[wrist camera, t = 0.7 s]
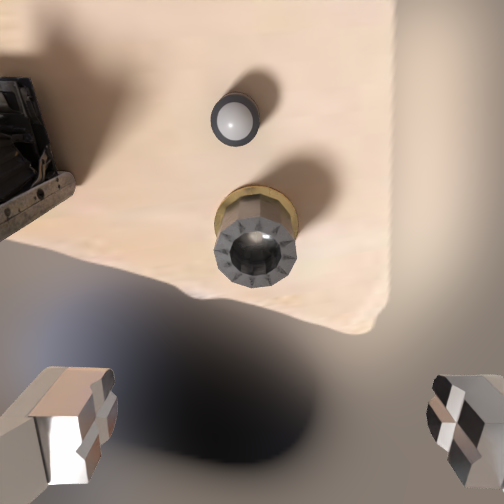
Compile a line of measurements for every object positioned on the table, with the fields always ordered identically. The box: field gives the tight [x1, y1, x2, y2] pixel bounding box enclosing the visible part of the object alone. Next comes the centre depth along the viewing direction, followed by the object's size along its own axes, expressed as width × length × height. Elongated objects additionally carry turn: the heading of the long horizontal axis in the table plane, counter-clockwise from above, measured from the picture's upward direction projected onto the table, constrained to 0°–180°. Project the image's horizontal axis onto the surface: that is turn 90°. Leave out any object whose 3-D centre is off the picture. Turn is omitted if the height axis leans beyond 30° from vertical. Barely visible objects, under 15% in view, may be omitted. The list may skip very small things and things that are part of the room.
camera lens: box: [211, 92, 259, 147], centre depth 42 cm, size 6×6×4 cm
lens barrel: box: [214, 185, 298, 288], centre depth 48 cm, size 13×13×9 cm
